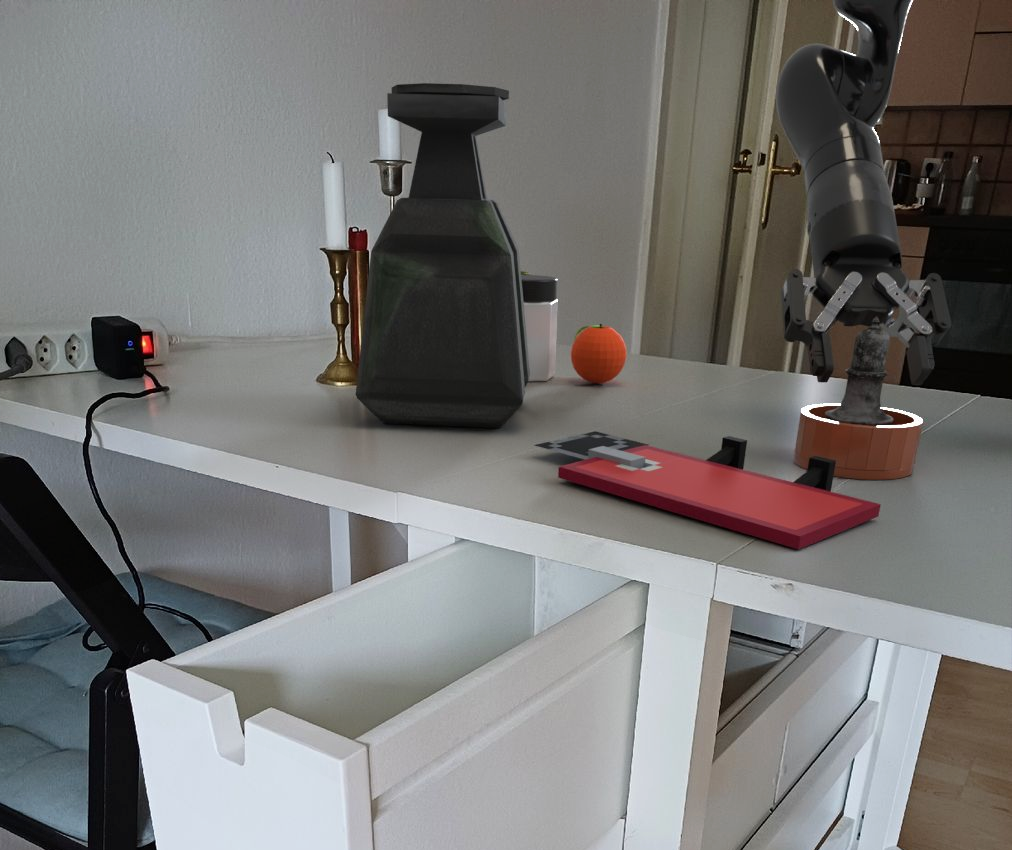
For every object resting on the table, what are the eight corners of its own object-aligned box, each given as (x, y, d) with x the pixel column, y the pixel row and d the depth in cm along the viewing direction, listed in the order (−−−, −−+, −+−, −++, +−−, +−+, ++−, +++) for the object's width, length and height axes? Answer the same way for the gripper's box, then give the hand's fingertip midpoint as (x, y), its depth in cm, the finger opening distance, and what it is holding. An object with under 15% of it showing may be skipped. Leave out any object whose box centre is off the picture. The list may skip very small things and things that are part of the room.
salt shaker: (805, 450, 93) (826, 312, 88) (857, 446, 95) (881, 312, 90) (846, 465, 88) (871, 321, 83) (900, 461, 90) (928, 320, 85)
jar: (474, 375, 130) (475, 275, 125) (517, 369, 136) (520, 273, 131) (526, 385, 125) (529, 281, 120) (568, 378, 130) (573, 278, 125)
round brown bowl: (886, 452, 97) (896, 405, 95) (931, 481, 88) (942, 428, 86) (779, 450, 96) (786, 402, 95) (813, 478, 87) (822, 426, 85)
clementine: (552, 380, 129) (554, 321, 126) (589, 375, 133) (593, 318, 130) (598, 389, 123) (602, 328, 120) (635, 384, 128) (640, 325, 125)
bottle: (521, 435, 99) (533, 81, 86) (355, 428, 100) (342, 77, 87) (529, 401, 115) (540, 99, 102) (386, 395, 116) (379, 95, 103)
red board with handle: (607, 438, 98) (495, 464, 88) (609, 408, 96) (495, 432, 87) (900, 512, 79) (797, 555, 69) (908, 477, 77) (803, 516, 68)
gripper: (787, 194, 89) (806, 349, 84) (946, 198, 90) (975, 353, 84) (763, 255, 96) (779, 402, 91) (910, 259, 97) (935, 405, 91)
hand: (873, 378), depth 87 cm, fingers open, 8 cm apart
